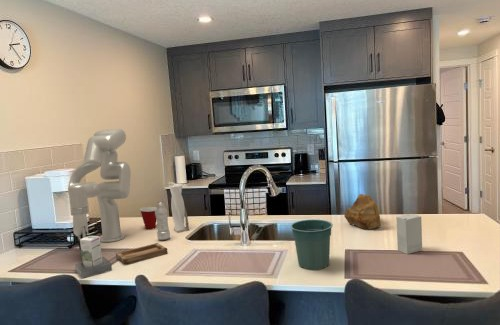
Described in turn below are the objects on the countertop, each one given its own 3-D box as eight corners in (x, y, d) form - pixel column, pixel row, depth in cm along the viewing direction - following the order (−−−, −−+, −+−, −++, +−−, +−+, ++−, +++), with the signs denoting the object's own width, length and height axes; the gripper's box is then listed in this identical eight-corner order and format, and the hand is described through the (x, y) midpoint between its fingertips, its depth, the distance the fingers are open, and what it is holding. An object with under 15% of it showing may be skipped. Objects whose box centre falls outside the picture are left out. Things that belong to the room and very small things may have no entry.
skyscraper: (175, 233, 212) (170, 183, 209) (171, 230, 219) (166, 181, 216) (189, 230, 215) (185, 181, 213) (185, 227, 223) (180, 180, 220)
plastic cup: (157, 229, 221) (155, 209, 220) (139, 231, 221) (137, 210, 220) (162, 225, 232) (160, 205, 231) (144, 226, 232) (142, 206, 231)
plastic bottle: (167, 241, 197) (164, 203, 195) (155, 241, 198) (151, 203, 196) (172, 237, 203) (169, 200, 201) (160, 237, 205) (157, 201, 203)
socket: (75, 270, 164) (74, 263, 164) (104, 263, 171) (103, 256, 171) (81, 278, 154) (80, 271, 154) (112, 270, 161) (111, 263, 161)
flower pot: (325, 275, 140) (323, 232, 139) (285, 268, 149) (283, 228, 147) (340, 260, 154) (338, 221, 153) (303, 255, 163) (300, 218, 161)
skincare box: (412, 247, 163) (411, 213, 162) (423, 251, 157) (422, 215, 156) (396, 250, 160) (395, 216, 159) (407, 254, 155) (406, 219, 153)
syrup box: (103, 268, 164) (100, 235, 163) (94, 273, 159) (90, 239, 157) (93, 267, 166) (89, 235, 165) (83, 272, 161) (79, 239, 159)
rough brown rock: (342, 221, 214) (339, 195, 212) (372, 217, 212) (369, 191, 210) (350, 235, 191) (346, 206, 189) (384, 230, 189) (380, 201, 187)
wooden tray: (116, 258, 176) (115, 253, 176) (157, 247, 187) (157, 242, 187) (124, 265, 166) (124, 259, 166) (167, 253, 178) (167, 248, 177)
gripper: (67, 210, 183) (71, 247, 184) (74, 214, 171) (78, 254, 172) (84, 207, 187) (88, 244, 189) (91, 211, 175) (95, 250, 176)
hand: (83, 249), depth 180 cm, fingers closed
